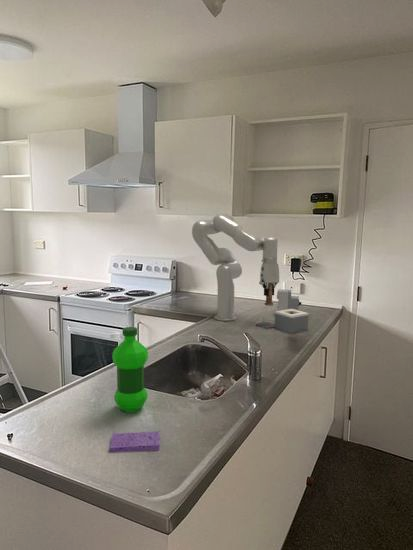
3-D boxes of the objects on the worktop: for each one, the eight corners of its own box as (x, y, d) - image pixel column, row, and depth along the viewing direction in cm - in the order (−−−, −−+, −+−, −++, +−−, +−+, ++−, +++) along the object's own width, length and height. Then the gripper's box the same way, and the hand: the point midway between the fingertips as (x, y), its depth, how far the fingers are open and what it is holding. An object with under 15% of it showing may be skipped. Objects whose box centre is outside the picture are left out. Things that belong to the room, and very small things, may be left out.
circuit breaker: (300, 317, 243) (302, 292, 241) (276, 316, 246) (276, 291, 244) (300, 315, 250) (301, 290, 248) (276, 313, 253) (277, 289, 251)
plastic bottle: (155, 407, 129) (154, 328, 125) (127, 419, 121) (125, 335, 117) (134, 397, 135) (133, 322, 132) (106, 408, 127) (104, 329, 124)
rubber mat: (255, 324, 226) (255, 324, 226) (268, 322, 231) (268, 321, 231) (266, 328, 219) (266, 327, 219) (279, 326, 224) (279, 325, 224)
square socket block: (274, 328, 221) (275, 311, 219) (290, 324, 227) (291, 308, 226) (291, 333, 211) (291, 316, 210) (307, 330, 217) (308, 313, 216)
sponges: (159, 451, 106) (159, 444, 106) (108, 454, 105) (108, 447, 104) (159, 437, 113) (159, 430, 112) (112, 439, 111) (112, 432, 111)
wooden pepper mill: (263, 304, 224) (263, 278, 222) (269, 303, 226) (269, 278, 224) (268, 306, 220) (269, 279, 218) (274, 305, 223) (275, 279, 221)
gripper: (262, 262, 213) (261, 298, 215) (286, 260, 222) (285, 294, 224) (253, 261, 219) (252, 295, 221) (276, 259, 228) (275, 292, 230)
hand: (268, 295), depth 223 cm, fingers closed on wooden pepper mill, 3 cm apart
